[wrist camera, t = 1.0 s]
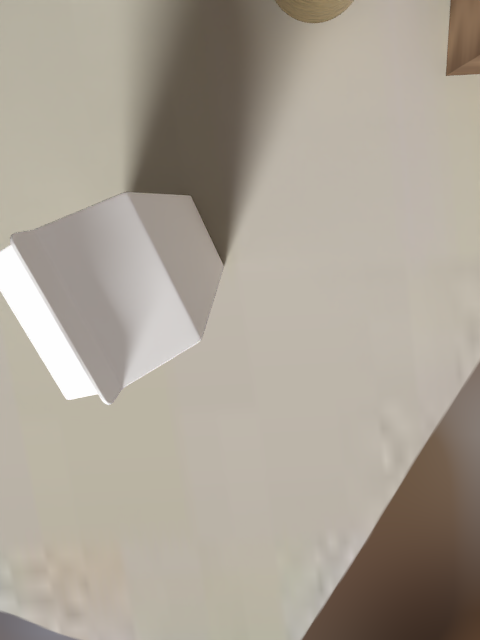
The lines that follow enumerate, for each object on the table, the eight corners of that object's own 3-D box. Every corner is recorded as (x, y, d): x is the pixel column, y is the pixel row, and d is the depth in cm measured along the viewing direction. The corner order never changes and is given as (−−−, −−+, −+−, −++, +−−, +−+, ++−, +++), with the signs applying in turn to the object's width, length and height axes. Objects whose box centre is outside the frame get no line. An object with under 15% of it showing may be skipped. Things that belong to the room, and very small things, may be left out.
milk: (157, 298, 36) (25, 448, 15) (120, 227, 34) (-85, 279, 13) (226, 266, 35) (194, 375, 14) (191, 192, 34) (96, 188, 12)
